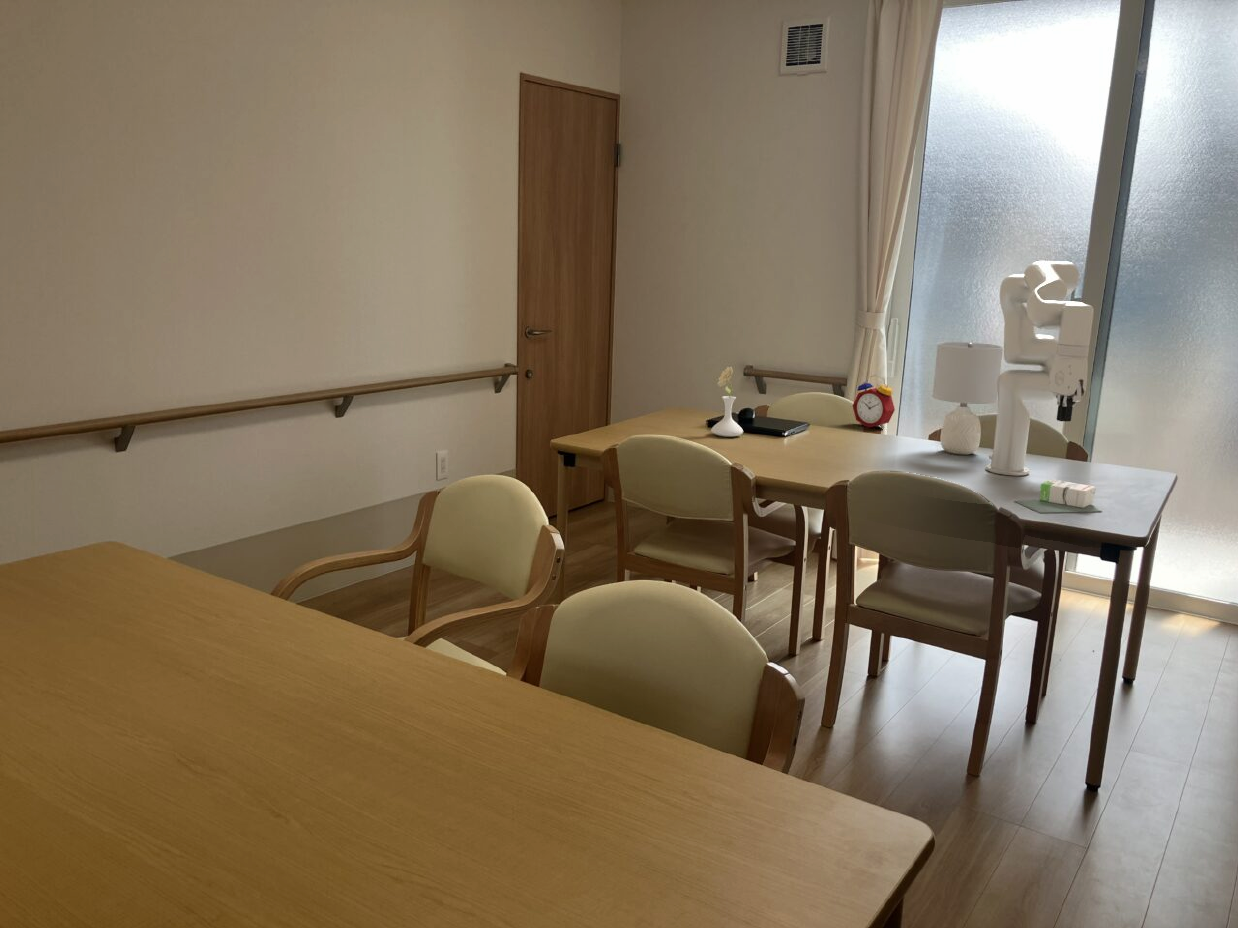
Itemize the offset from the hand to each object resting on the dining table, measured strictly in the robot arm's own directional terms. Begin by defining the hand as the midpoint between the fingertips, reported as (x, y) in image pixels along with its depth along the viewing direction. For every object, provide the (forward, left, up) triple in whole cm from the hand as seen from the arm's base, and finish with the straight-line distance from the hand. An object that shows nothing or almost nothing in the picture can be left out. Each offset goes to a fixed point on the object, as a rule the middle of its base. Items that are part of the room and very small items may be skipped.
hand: (1063, 420), depth 264 cm
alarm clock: (-115, 0, -23) cm, 117 cm away
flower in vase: (-98, -63, -23) cm, 119 cm away
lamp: (-67, +9, -23) cm, 71 cm away
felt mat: (+2, 0, -23) cm, 23 cm away
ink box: (-6, +1, -20) cm, 21 cm away
